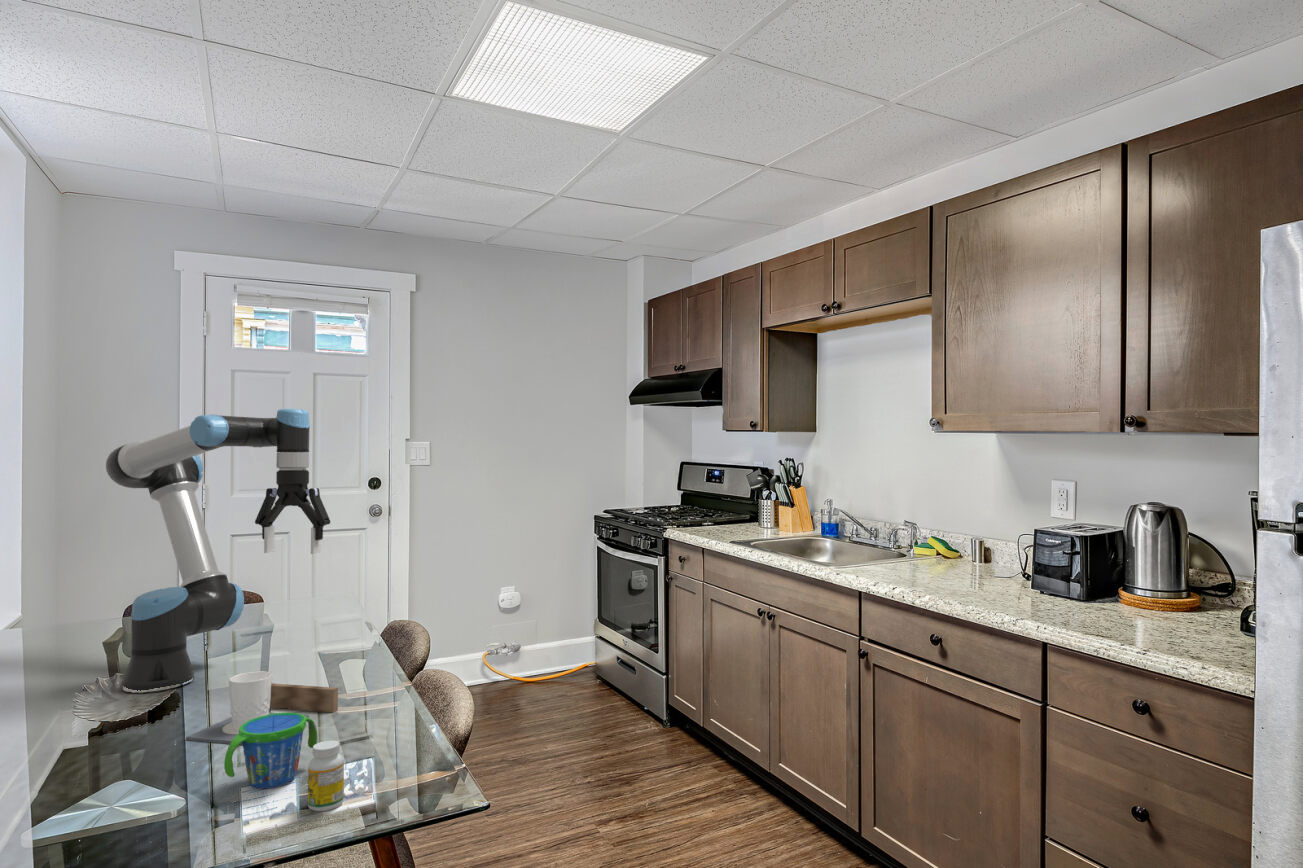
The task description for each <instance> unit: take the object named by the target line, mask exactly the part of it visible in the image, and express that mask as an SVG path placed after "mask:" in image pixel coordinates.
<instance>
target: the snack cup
mask: <svg viewBox="0 0 1303 868" xmlns="http://www.w3.org/2000/svg"><path fill="white" fill-rule="evenodd" d="M274 713H275V714H269V715H264V716H260V717H257V718H254V719H251V720H249V721H247V722H245V723H244V724H242V725H241V726H240V728H239V734H238V735H237V736H236V737H235V738H234V739H232V742H231V743H230V744H228V747H227V749H226V750H227V751H226V753H225V756H224V763H223V764H224V765H223V768H224V770H225V773H226V776H227V777H229V778H234V777H235V771H234V762H233V756H234V752H235V751H236V750H237V748H238V747H239V746H240V745H239V744H240V743H242V745H241V746H242V749H243V756H244V763H245V770H246V774H247V781H248V783H249V784H250V787H251V788H255V789H257V788H258V789H271V788H272V789H273V788H276V787H280V786H283V785H284V784H286V783H289V782H290V781H291V782H292V781H294V779H295V778H296V776H297V773H298V768H299V764H300V757H301V752H302V751H301V750H302V743H303V734H304V730H305V729H306V727H307V723H308V728H307V729H308V738H307V739H308V740H307V746H308V747H309V748H310V749H313V746H314V745H315V744H317V743H318V741H319V740H318V739H319V738H318V729H317V725H316V723H315V721H314V720H313V719H312V718H310V717H309V718H308V717H305V716H304V715H305V714H302V713H298V712H290V711H289V712H274Z"/></svg>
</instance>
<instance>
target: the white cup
mask: <svg viewBox="0 0 1303 868" xmlns="http://www.w3.org/2000/svg"><path fill="white" fill-rule="evenodd" d="M272 680H273V674H272V673H271V671H270V672H269V671H266V670H265V671H261V670H260V671H250V672H248V671H247V672H244V673H239V674H236V675H234V676H231V677H230V678H229V679H228V681H229V706H230V716H231V717H232V728H233V729H236V730H239V728H240V726H241V725H242V724H244V723H245V722H247V721H249V720H251V719H254V718H257V717H260V716H264V715H269V712H270V709H271V708H270V698H271V683H272Z"/></svg>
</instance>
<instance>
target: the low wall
mask: <svg viewBox="0 0 1303 868" xmlns="http://www.w3.org/2000/svg"><path fill="white" fill-rule="evenodd" d="M338 705H339V688H338V687H332V686H331V687H330V686H320V685H319V686H315V685H300V684H286V683H272V682H271V698H270V708H269V709H280V708H288V709H287V710H293V709H295V711H306V712H307V711H309V712H323V713H333V712H334V713H335V712H337V711H338V710H339V708H338V707H339V706H338ZM289 708H290V709H289Z"/></svg>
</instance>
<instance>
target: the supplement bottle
mask: <svg viewBox="0 0 1303 868" xmlns="http://www.w3.org/2000/svg"><path fill="white" fill-rule="evenodd" d="M340 747H341V746H340V742H339V741H337V740H324V741H321V742H317V744H315V745H314V746H313V748H312V756H313V758H311V759H310V760H309V762H308V765H307V775H308V776H307V807H308V809H309V810H311V811H313V812H327V811H331V810H334V809H336V808H338V807H340V806H341V805H342V804H343V803H344V800H345V798H344V797H345V792H344V791H345V789H344V788H345V786H344V785H345V780H344V779H345V771H344V770H345V759H344V757H343V755H342V754H340V751H341V750H340Z"/></svg>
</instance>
